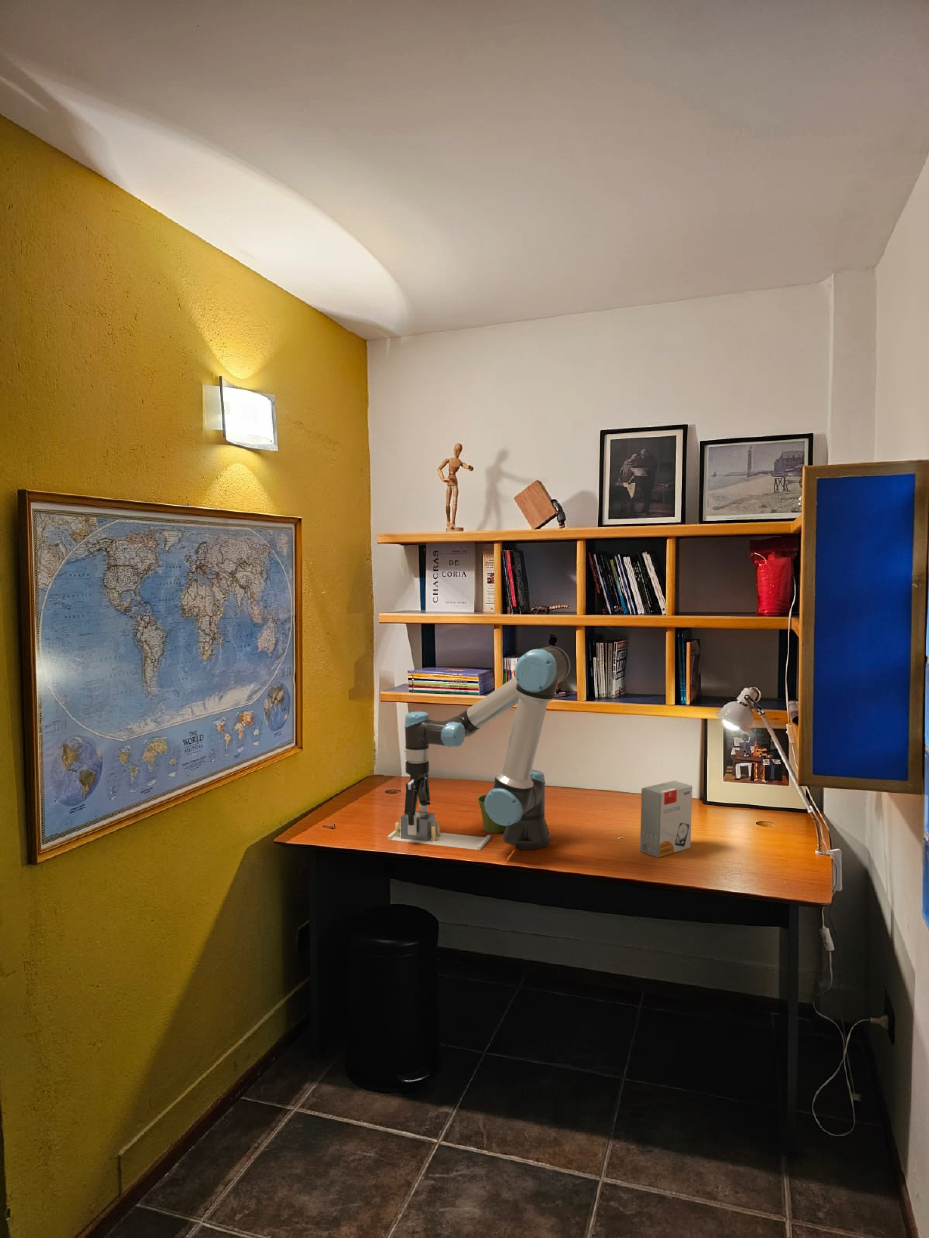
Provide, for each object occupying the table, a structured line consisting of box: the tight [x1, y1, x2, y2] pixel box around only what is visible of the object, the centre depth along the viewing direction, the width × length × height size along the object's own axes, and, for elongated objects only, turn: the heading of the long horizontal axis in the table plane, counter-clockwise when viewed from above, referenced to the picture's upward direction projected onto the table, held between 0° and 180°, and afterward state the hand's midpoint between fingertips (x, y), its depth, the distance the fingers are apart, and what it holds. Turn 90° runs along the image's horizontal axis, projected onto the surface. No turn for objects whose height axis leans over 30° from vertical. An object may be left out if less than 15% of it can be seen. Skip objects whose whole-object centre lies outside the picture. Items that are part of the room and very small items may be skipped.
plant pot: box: [476, 793, 506, 834], centre depth 263 cm, size 12×12×11 cm
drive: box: [400, 810, 436, 841], centre depth 257 cm, size 9×7×7 cm
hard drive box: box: [639, 780, 693, 858], centre depth 246 cm, size 16×8×20 cm, turn 126°
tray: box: [387, 818, 491, 851], centre depth 255 cm, size 31×11×6 cm, turn 71°
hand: (417, 829), depth 257 cm, fingers open, 9 cm apart
